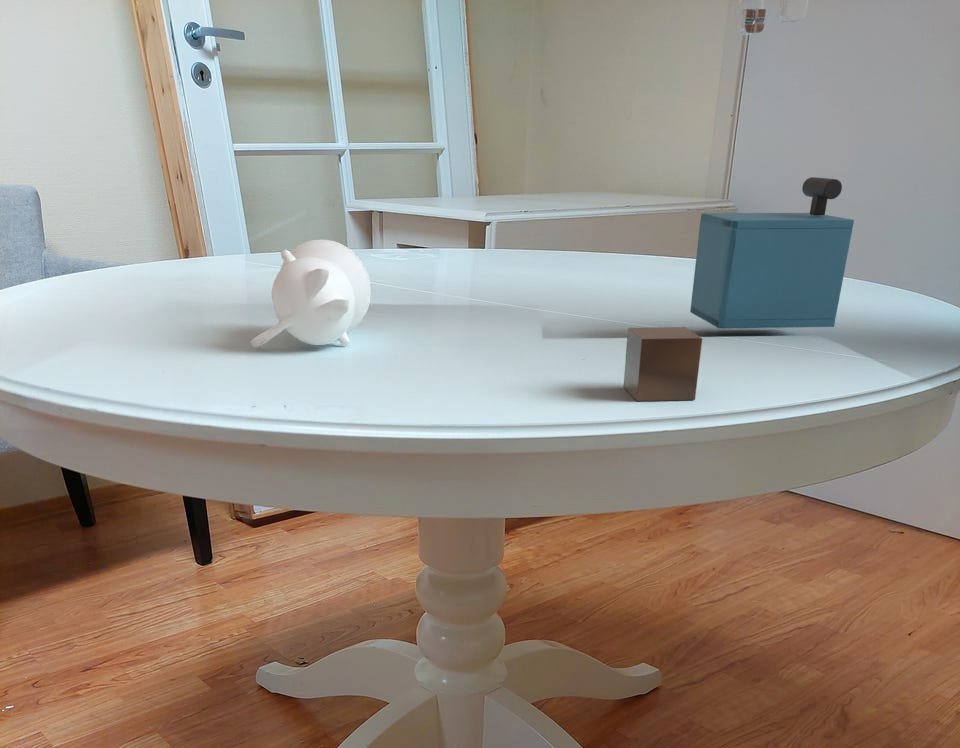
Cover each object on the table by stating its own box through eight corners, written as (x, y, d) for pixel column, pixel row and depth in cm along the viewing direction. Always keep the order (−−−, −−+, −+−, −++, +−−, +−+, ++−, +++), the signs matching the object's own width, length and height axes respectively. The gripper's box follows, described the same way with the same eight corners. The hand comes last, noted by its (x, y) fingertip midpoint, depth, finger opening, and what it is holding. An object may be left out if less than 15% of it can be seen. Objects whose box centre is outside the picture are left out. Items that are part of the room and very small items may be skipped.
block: (678, 385, 63) (685, 326, 61) (695, 400, 59) (702, 338, 57) (623, 387, 62) (627, 327, 60) (636, 401, 59) (642, 338, 57)
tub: (690, 312, 89) (796, 311, 90) (718, 328, 81) (834, 326, 82) (705, 176, 83) (818, 176, 84) (737, 180, 75) (862, 179, 76)
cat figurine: (313, 226, 66) (337, 210, 77) (206, 306, 69) (243, 280, 80) (381, 329, 70) (395, 300, 80) (277, 400, 73) (303, 363, 83)
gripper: (899, -238, 60) (861, 11, 67) (784, -150, 78) (763, 39, 85) (809, -238, 60) (779, 12, 66) (714, -149, 77) (699, 41, 84)
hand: (770, 28), depth 76 cm, fingers open, 8 cm apart
